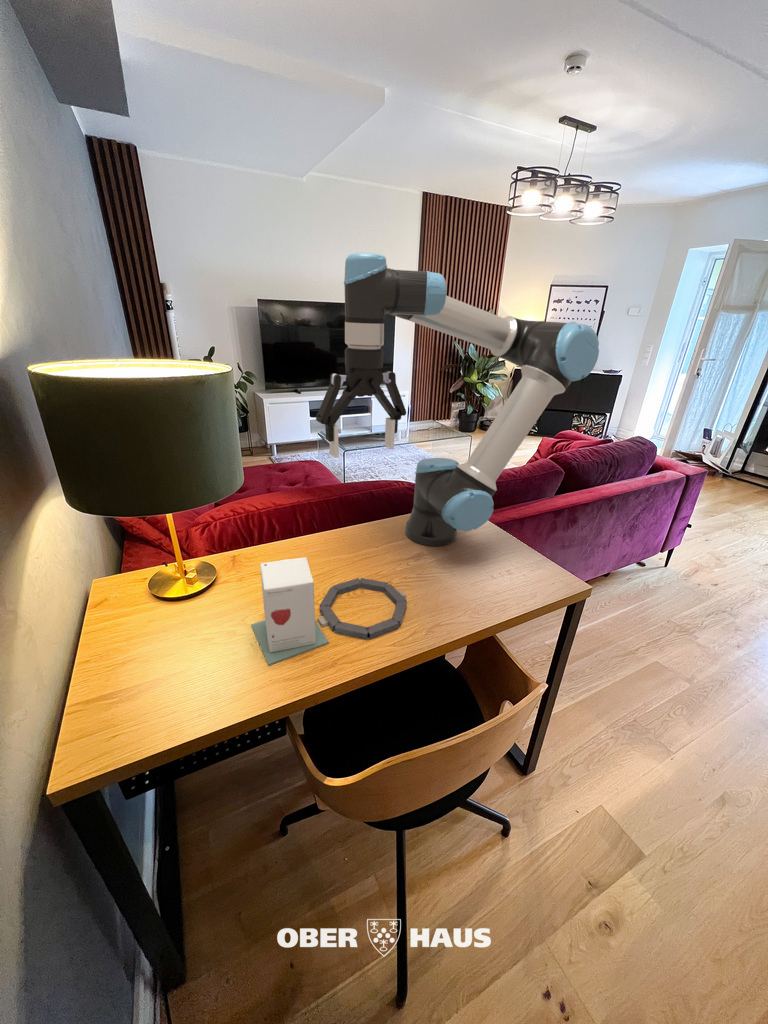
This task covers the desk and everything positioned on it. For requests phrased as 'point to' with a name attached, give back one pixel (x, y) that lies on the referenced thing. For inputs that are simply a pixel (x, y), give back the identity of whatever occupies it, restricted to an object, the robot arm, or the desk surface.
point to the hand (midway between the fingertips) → (362, 451)
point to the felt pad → (282, 655)
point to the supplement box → (288, 603)
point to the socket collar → (357, 630)
